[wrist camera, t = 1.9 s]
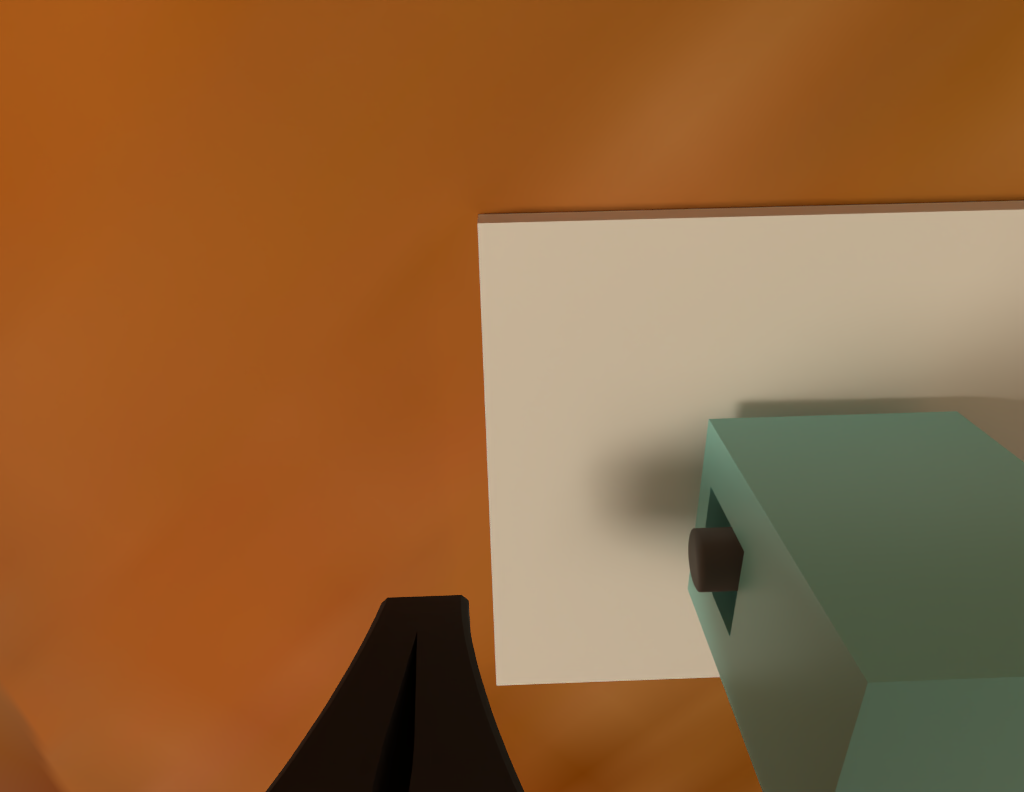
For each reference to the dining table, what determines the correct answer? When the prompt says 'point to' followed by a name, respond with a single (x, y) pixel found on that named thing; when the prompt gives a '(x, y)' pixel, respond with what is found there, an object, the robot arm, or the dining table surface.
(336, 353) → the dining table surface
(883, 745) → the sleeve
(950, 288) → the rod stand
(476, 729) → the robot arm
